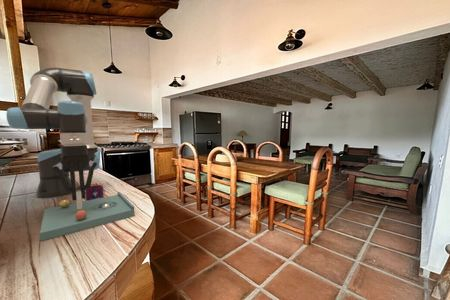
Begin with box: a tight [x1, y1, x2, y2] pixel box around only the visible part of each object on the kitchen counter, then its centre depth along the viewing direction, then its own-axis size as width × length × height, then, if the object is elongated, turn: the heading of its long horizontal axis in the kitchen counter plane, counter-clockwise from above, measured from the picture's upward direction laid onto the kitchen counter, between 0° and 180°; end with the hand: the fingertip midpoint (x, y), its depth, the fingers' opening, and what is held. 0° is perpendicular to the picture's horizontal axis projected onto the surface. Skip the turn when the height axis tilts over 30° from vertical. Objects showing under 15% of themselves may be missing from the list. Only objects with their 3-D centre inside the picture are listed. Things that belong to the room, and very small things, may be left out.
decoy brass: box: [58, 198, 71, 208], centre depth 76 cm, size 3×3×3 cm
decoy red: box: [75, 210, 87, 220], centre depth 65 cm, size 3×3×3 cm
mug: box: [85, 184, 105, 201], centre depth 91 cm, size 7×10×7 cm
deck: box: [39, 191, 135, 242], centre depth 74 cm, size 24×26×4 cm
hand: (79, 207), depth 72 cm, fingers closed
